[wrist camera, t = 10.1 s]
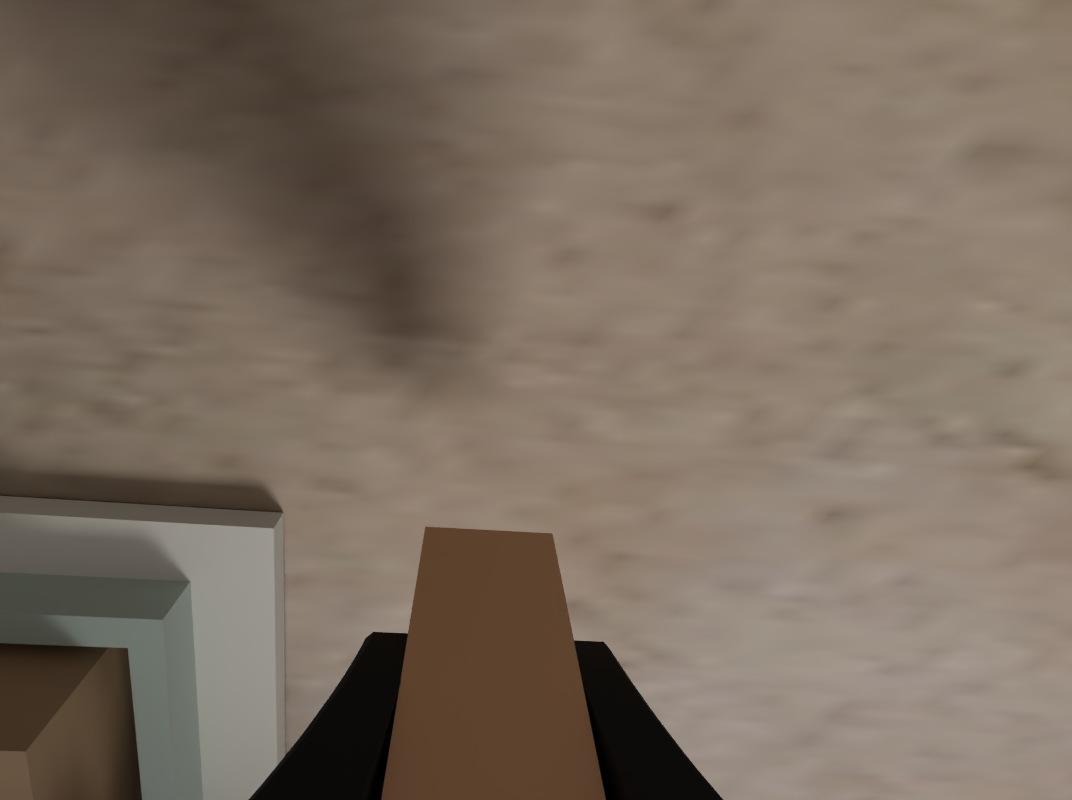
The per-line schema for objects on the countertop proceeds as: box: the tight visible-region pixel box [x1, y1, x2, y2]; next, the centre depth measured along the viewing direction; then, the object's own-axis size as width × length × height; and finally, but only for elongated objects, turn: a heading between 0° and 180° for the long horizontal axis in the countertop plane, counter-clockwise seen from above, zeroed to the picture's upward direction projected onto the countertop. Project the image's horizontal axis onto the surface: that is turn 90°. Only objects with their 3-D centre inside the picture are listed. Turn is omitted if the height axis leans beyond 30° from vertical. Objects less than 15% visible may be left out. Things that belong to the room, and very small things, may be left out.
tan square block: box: [381, 527, 606, 800], centre depth 10 cm, size 2×2×6 cm
